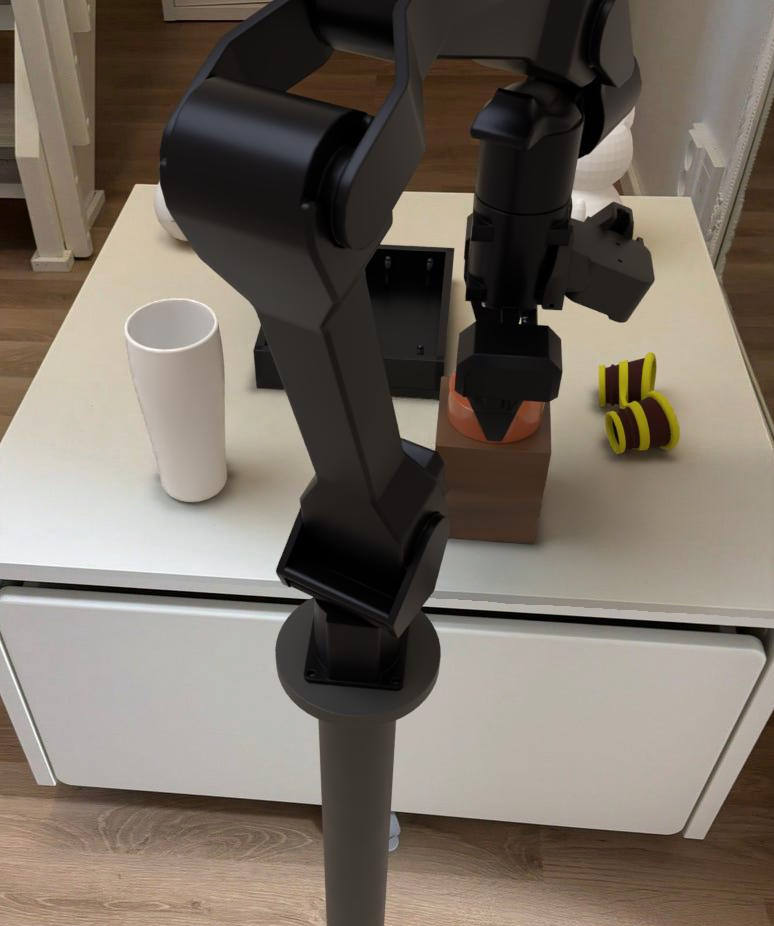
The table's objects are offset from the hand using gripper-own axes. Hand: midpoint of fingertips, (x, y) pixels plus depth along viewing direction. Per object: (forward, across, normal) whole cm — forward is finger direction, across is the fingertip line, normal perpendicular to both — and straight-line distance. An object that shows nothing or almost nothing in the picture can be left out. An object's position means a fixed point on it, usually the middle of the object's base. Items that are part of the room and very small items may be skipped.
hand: (495, 401), depth 73 cm
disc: (+1, 0, 0) cm, 1 cm away
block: (+10, 0, 0) cm, 10 cm away
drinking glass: (+10, 0, +23) cm, 25 cm away
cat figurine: (+10, +37, -8) cm, 39 cm away
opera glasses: (+10, +11, -12) cm, 19 cm away
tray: (+10, +22, +12) cm, 27 cm away
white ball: (+10, +38, +30) cm, 49 cm away
